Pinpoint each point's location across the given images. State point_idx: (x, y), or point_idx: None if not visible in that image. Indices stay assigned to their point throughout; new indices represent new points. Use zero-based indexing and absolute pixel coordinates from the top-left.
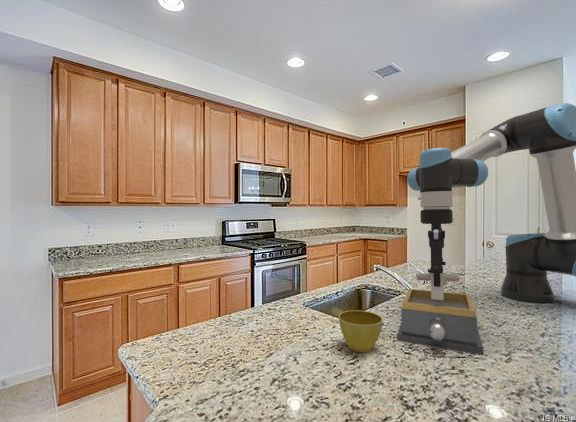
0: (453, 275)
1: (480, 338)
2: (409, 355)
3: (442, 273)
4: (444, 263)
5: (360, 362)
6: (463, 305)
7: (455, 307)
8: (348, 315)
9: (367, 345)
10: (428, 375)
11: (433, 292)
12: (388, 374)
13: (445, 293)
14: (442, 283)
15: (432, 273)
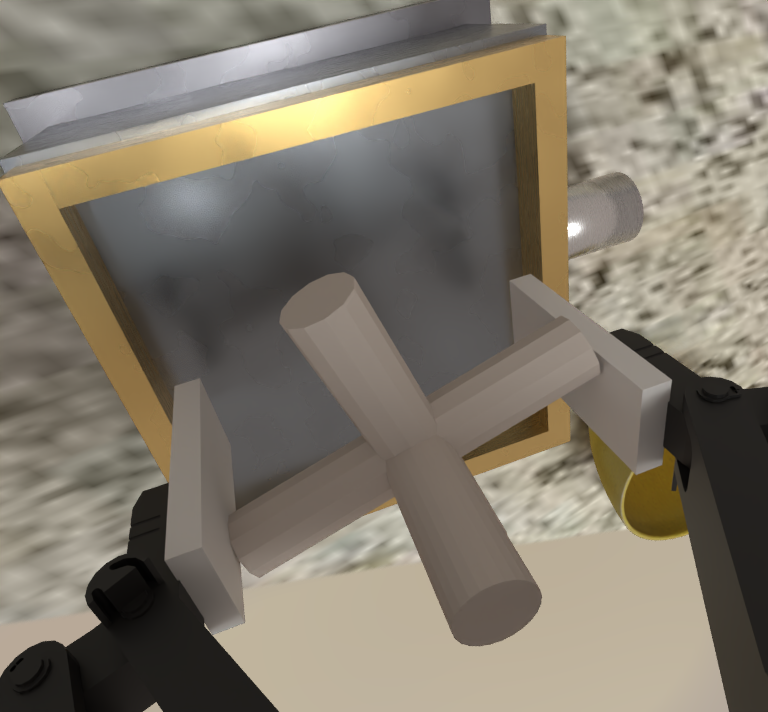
0: (378, 345)
1: (351, 21)
2: (617, 263)
3: (670, 383)
4: (132, 581)
5: (715, 351)
6: (262, 176)
7: (359, 211)
8: (639, 522)
9: None
10: (737, 156)
11: None
12: (761, 259)
13: (141, 361)
14: (606, 336)
15: (658, 448)
